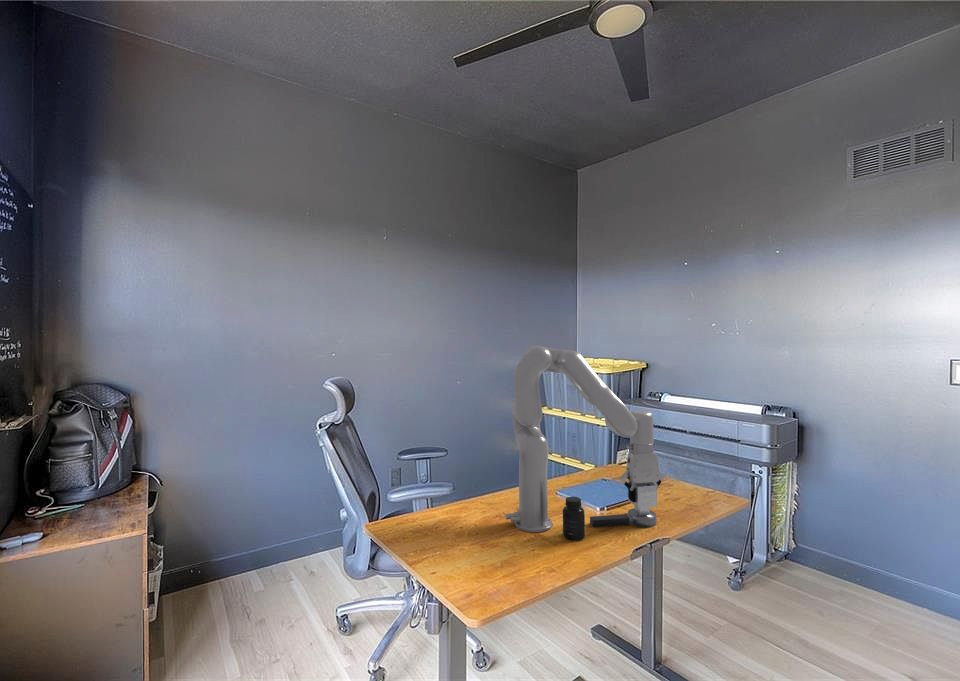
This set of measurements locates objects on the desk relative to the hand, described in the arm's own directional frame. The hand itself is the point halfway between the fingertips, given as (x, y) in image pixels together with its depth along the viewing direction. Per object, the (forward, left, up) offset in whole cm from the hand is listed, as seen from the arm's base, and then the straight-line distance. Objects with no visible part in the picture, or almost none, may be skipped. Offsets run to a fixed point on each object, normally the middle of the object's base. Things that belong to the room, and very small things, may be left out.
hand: (642, 499), depth 155 cm
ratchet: (-7, 0, -8) cm, 10 cm away
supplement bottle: (-27, -7, -8) cm, 29 cm away
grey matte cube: (0, 0, -1) cm, 1 cm away
